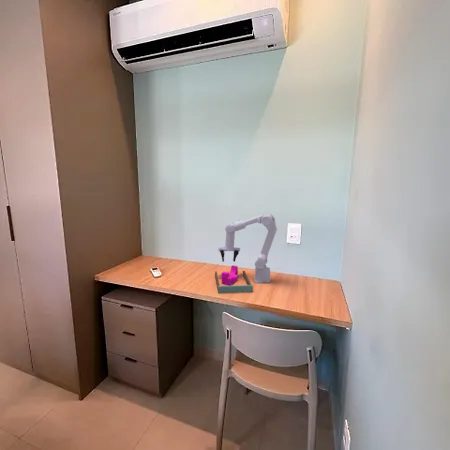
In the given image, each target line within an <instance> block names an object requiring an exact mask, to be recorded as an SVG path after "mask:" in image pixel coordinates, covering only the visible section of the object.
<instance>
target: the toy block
mask: <svg viewBox="0 0 450 450" xmlns="http://www.w3.org/2000/svg"><path fill="white" fill-rule="evenodd" d="M238 272H239V267H238V265H231V266H230V271H222V272H221V275H222V279H221V285H223V286H233V285H234V283H236V282H237V281H238V280H239V278H238V275H239V273H238Z"/></svg>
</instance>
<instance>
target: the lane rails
mask: <svg viewBox="0 0 450 450" xmlns="http://www.w3.org/2000/svg"><path fill="white" fill-rule="evenodd" d="M218 275H219V274H218V272H217V271H214V278H215V283H216V290H217V291H218V286H221V285H220V279H219V277H218ZM242 277H243V279H244V281H245V284H246V285H252V283H251V281H250V279H249V276H248V275H247V273H246V271H245V270H242Z"/></svg>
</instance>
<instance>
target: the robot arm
mask: <svg viewBox="0 0 450 450" xmlns="http://www.w3.org/2000/svg"><path fill="white" fill-rule="evenodd" d="M255 223H256V224H257V223H258V224H262V226H264V227H265V228H266V230H267V234H266V237H265V239H264V242H263V244H262V247H261V251H260V253H259V255H258V258H257V259H256V260H255V262H254V267H255V268H254V270H255V271H254V272H255V274H254V277H253V280H254V282H255V283H256V284H262V283H263V284H264V283H265V284H266V283H271V268H270V267H269V266H267V263H268V257H269V256H268V255H269V253H270V250H271V246H272V245H273V241H274V239H275V236H276V233H277V231H278V230H277V229H278V227H277V225H276V219H275V217H274V215H273V214H272V213H266V214H261V215H257V216H254V217H252V218H249V219H246V220H243V219H238V220H237V221H236V222H235V221H234V222H231V223H229V224H227V225H226V226H225V228H224V230H225V232H226V233H225V234H226V235H225V245H224V247H218V252H219V253H220V256H221V260H222V263H224V262H225V252H233V259H232V261H233V262H234V263H235V262H236V260H237V259H236V258H237V256H239V252H241V247H235V239H236V238H235V237H236V235H235V234H236V232H238V231H241V230H245V229H246V227H247V226H249V225H252V224H255Z"/></svg>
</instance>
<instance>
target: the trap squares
mask: <svg viewBox="0 0 450 450" xmlns="http://www.w3.org/2000/svg"><path fill="white" fill-rule="evenodd" d="M217 275H218V280H222V274H217ZM238 279H244V277H243V274H238Z"/></svg>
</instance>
